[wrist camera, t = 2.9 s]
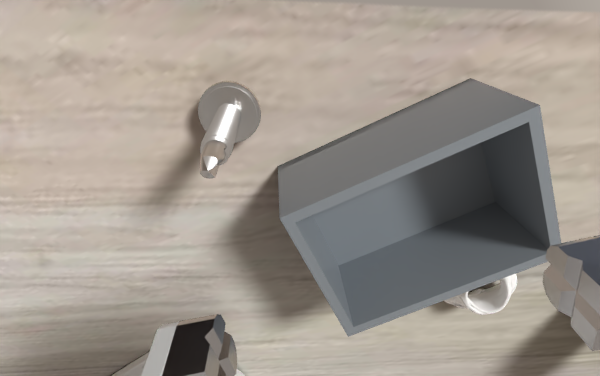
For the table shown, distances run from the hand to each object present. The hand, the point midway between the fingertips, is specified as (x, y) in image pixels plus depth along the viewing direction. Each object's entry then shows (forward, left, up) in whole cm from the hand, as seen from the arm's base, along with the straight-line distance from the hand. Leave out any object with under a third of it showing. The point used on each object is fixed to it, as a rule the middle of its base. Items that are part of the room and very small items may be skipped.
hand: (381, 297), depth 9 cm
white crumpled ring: (+8, -26, -24) cm, 37 cm away
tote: (+4, -12, -24) cm, 27 cm away
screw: (-6, +1, -24) cm, 25 cm away
